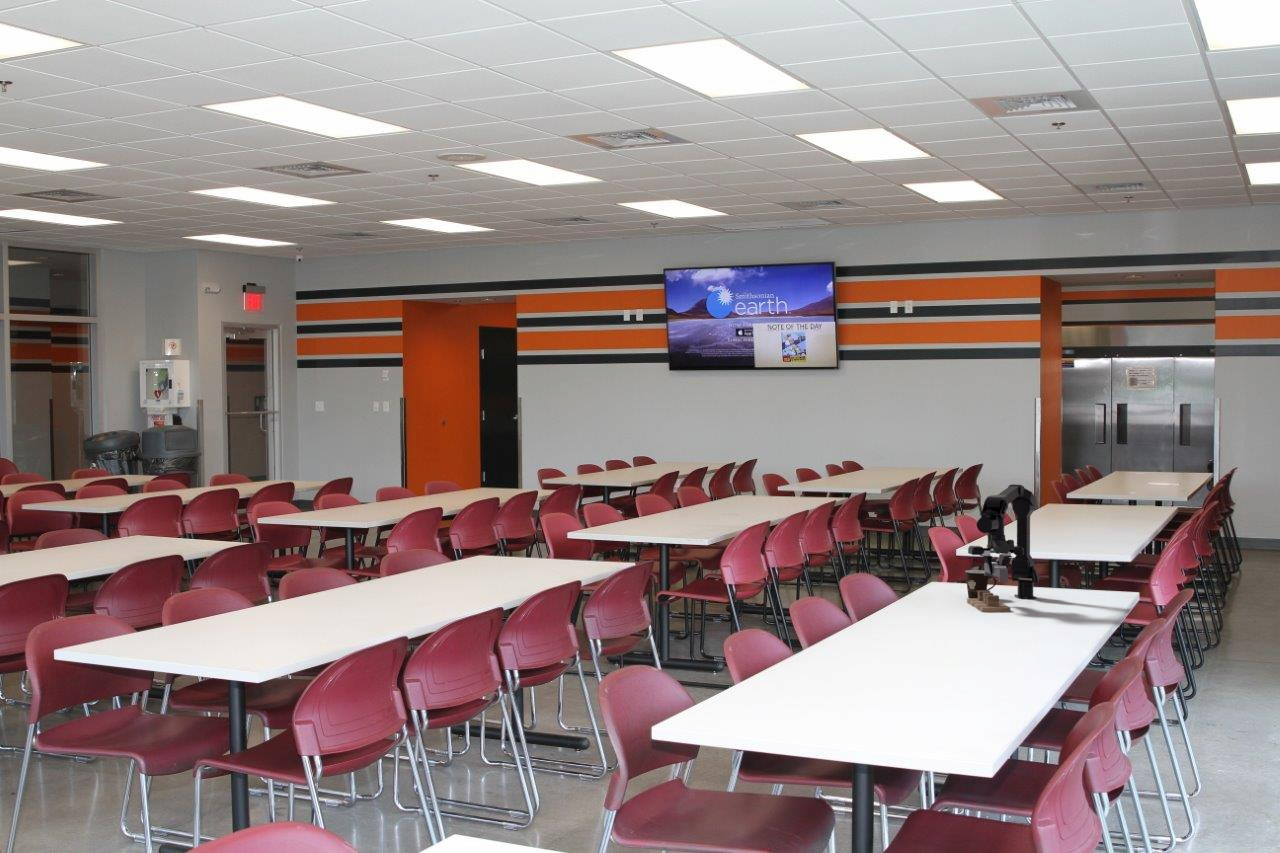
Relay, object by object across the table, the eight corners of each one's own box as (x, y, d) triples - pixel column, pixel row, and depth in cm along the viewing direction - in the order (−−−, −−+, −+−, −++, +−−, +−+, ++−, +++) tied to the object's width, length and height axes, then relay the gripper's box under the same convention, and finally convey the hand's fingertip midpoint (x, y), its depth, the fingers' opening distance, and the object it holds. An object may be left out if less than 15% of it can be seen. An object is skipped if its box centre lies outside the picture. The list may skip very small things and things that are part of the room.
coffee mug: (960, 596, 463) (960, 570, 463) (980, 595, 466) (980, 569, 465) (978, 601, 452) (978, 574, 452) (998, 600, 455) (998, 573, 454)
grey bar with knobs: (982, 575, 448) (982, 561, 448) (993, 575, 448) (993, 561, 448) (998, 581, 430) (998, 567, 430) (1009, 581, 430) (1009, 567, 430)
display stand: (967, 602, 450) (967, 589, 450) (994, 602, 450) (994, 589, 450) (982, 611, 430) (982, 597, 430) (1010, 611, 430) (1010, 597, 430)
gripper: (976, 533, 431) (976, 577, 431) (1029, 533, 431) (1028, 577, 431) (967, 530, 442) (967, 573, 442) (1018, 530, 443) (1018, 573, 443)
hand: (995, 574), depth 439 cm, fingers closed on grey bar with knobs, 3 cm apart
